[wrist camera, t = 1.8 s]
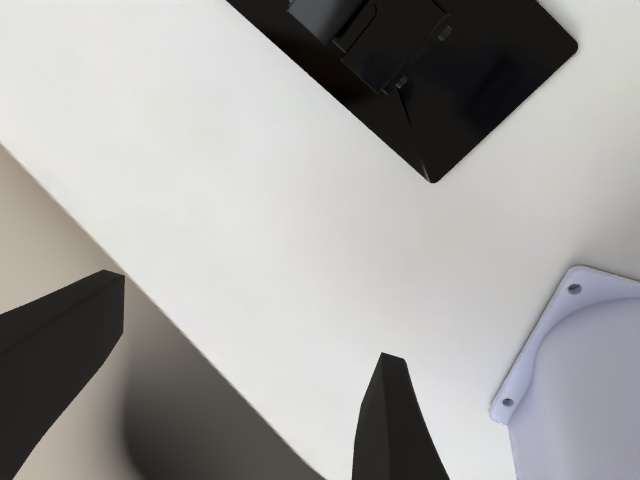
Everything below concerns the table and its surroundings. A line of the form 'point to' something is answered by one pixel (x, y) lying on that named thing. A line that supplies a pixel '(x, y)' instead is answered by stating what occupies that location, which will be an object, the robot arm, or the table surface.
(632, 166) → the table surface
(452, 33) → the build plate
